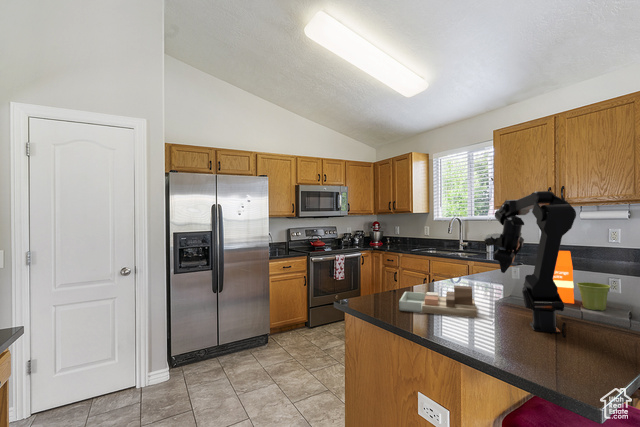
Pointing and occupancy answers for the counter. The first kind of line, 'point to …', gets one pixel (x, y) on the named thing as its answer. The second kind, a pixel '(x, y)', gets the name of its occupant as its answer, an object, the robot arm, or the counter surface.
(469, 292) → the brown stepped block
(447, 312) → the maple board
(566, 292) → the orange juice
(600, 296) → the plant pot
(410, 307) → the tray
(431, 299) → the terracotta tile
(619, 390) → the counter surface
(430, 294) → the cream tile
